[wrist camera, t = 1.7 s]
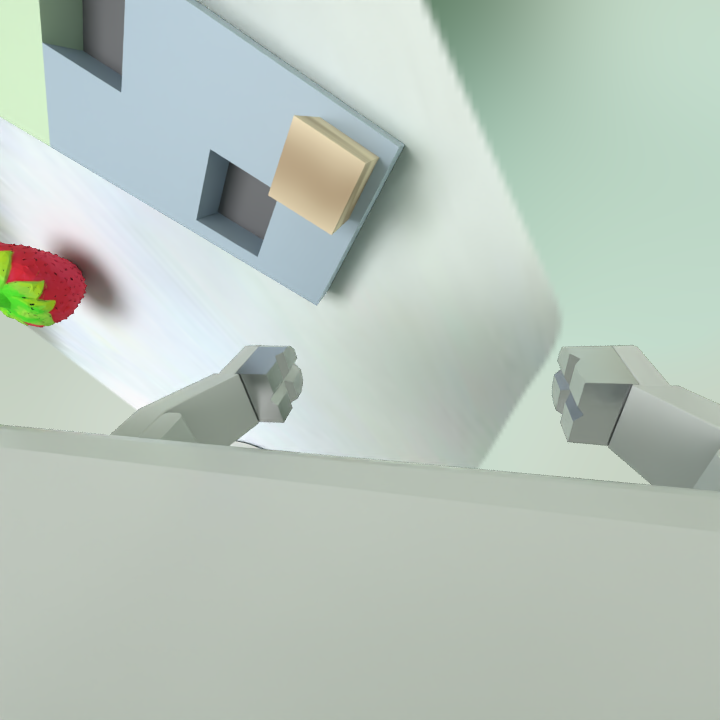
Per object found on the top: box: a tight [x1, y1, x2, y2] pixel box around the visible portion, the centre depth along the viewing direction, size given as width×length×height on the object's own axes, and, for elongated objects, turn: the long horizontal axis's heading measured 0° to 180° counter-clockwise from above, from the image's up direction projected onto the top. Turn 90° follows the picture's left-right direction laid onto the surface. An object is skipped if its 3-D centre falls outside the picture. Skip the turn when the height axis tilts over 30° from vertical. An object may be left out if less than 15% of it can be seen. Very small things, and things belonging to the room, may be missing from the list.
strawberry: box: [0, 243, 87, 327], centre depth 29 cm, size 6×7×10 cm
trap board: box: [0, 0, 404, 305], centre depth 21 cm, size 12×28×6 cm, turn 61°
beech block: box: [268, 115, 379, 235], centre depth 19 cm, size 4×4×4 cm
